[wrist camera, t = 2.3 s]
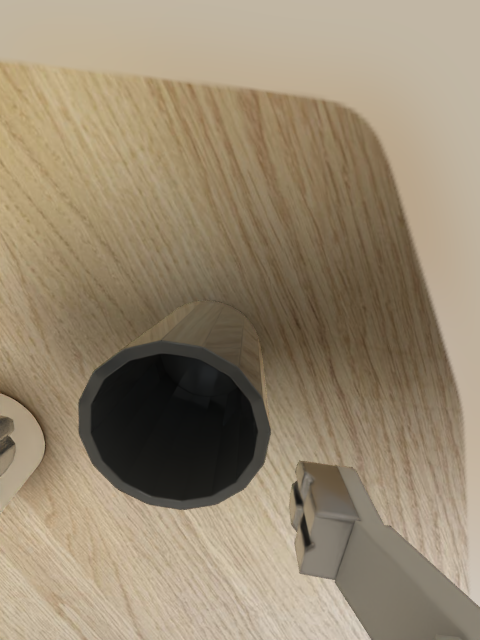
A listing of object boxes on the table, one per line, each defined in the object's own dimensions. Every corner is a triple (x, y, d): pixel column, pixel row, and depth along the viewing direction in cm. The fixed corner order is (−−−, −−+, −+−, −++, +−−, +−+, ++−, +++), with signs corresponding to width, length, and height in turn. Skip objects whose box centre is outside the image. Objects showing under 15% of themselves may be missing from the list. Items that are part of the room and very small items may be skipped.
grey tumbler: (269, 309, 14) (286, 359, 7) (251, 405, 16) (252, 522, 9) (160, 292, 14) (77, 327, 7) (153, 390, 16) (78, 494, 9)
